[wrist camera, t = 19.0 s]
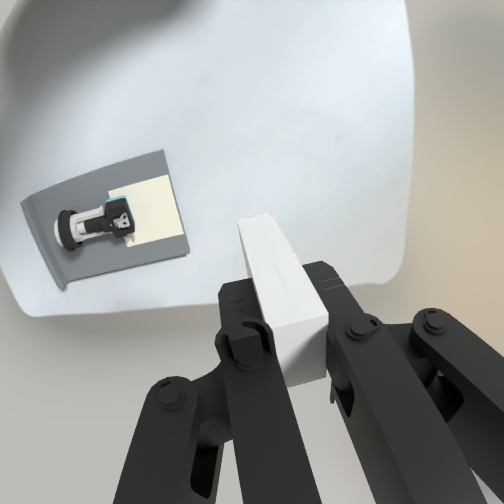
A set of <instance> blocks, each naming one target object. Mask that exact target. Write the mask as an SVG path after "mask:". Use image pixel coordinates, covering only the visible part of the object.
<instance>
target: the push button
mask: <svg viewBox="0 0 504 504" xmlns="http://www.w3.org/2000/svg"><path fill="white" fill-rule="evenodd" d="M54 232H55V237H56V239H57V242H58V243H59V245H60V246H63V247H64V248H65V249H66V250H67V251H69V252H72V251H74V250H75V249H76V248H79V247H81V246H82V244H83V241H84V240H85V239H88V238H92V237H95V236H99V235H103V234H107V233H110V234H111V233H113V234H114V236H115V238H117V239H118V238H122V237H126V238H127V241H128V242H129V237H128V235H127V234H130V233H132V235H133V238H134V240H135V235H134V232H135V221H134V218H133V215H132V212H131V209H130V206H129V203H128V200H127V197H126V196H125V195H122V196H119V197H115V198H111V199H107V200H106V203H105V208H104V207H103V206H100V208H97V209H93V210H90V211H86V212H83V213H79V214H77V212H76V211H74V210H68V211H67V210H62V211H61V212H60V213H59V215H58V219H57V220H56V221H55V224H54Z"/></svg>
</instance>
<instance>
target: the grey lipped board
mask: <svg viewBox="0 0 504 504" xmlns="http://www.w3.org/2000/svg"><path fill="white" fill-rule="evenodd" d="M122 195H125V196H126V197H127V200H128V203H129V206H130V209H131V212H132V215H133V218H134V221H135V232H134V235H135V240H134V238H133V235H132V233H130V234H127V235H128V237H129V242H128V241H127V238H126V237H122V238H118V239H117V238H115V236H114V234H113V233H111V234H110V233H107V234H103V235H99V236H95V237H92V238H88V239H85V240H84V241H83V244H82V246H81V247H79V248H76V249H75V250H74V251H72V252H69V251H67V250H66V249H65V248H64V247H63V246H60V245H59V243H58V242H57V239H56V237H55V232H54V224H55V221H56V220H57V219H58V215H59V213H60V212H61V211H62V210H67V211H68V210H74V211H76V212H77V214H79V213H83V212H86V211H90V210H93V209H97V208H100V206H103V207H104V208H105V203H106V200H107V199H111V198H115V197H119V196H122ZM21 206H22V209H23V211H24V214H25V217H26V219H27V222H28V224H29V227H30V229H31V231H32V234H33V236H34V238H35V241H36V243H37V245H38V247H39V250H40V252H41V254H42V256H43V258H44V260H45V262H46V264H47V267H48V269H49V271H50V273H51V274H52V276H53V278H54V280H55V282H56V284H57V286H58V288H63V287H64V286H65V284H66V283H67V281H70V280H75V279H79V278H83V277H88V276H92V275H96V274H100V273H105V272H109V271H113V270H118V269H122V268H127V267H131V266H135V265H140V264H144V263H149V262H153V261H157V260H162V259H166V258H171V257H175V256H180V255H184V254H189V253H190V247H189V244H188V240H187V237H186V234H185V230H184V226H183V223H182V219H181V216H180V212H179V208H178V205H177V201H176V197H175V193H174V190H173V186H172V182H171V178H170V174H169V170H168V166H167V162H166V158H165V154H164V149H163V150H159V151H156V152H152V153H148V154H145V155H141V156H138V157H134V158H131V159H128V160H125V161H121V162H118V163H115V164H112V165H109V166H106V167H103V168H100V169H97V170H94V171H91V172H88V173H86V174H83V175H80V176H77V177H75V178H72V179H69V180H67V181H64V182H62V183H59V184H57V185H54V186H52V187H49V188H47V189H44V190H42V191H40V192H37V193H35V194H33V195H30V196H29V197H27V198H26V199H25V200H23V201H22V202H21Z"/></svg>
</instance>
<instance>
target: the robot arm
mask: <svg viewBox="0 0 504 504" xmlns="http://www.w3.org/2000/svg"><path fill="white" fill-rule="evenodd" d="M237 224H238V229H239V234H240V239H241V244H242V249H243V254H244V259H245V264H246V269H247V274H248V279H243V280H239V281H234V282H230V283H225V284H223V285H222V287H221V289H220V291H219V293H218V299H219V306H220V307H219V308H220V318H221V327H222V328H221V329H220V330H219V332H218V333H217V335H216V338H215V346H216V349H217V352H218V354H219V357H220V360H221V362H220V364H219V365H218V366H217V367H216V368H215V369H214V370H213V371H211V372H210V373H208V374H206V375H204V376H203V377H200V378H198V379H196V380H193V381H190V380H188V379H187V378H184V377H179V376H174V377H167V378H165V379H162V380H160V381H158V382H157V383H156V384H155V385H153V386H152V387H151V389H150V391H149V392H148V394H147V397H146V400H145V402H144V405H143V408H142V411H141V414H140V417H139V420H138V423H137V426H136V429H135V432H134V435H133V438H132V441H131V444H130V447H129V451H128V454H127V457H126V460H125V464H124V467H123V470H122V474H121V477H120V480H119V484H118V487H117V491H116V494H115V498H114V501H113V504H215V502H216V495H217V489H218V482H219V475H220V468H221V462H222V455H223V448H224V443H225V442H227V441H229V440H232V439H233V444H234V451H235V457H236V463H237V469H238V475H239V481H240V487H241V492H242V498H243V504H322V502H321V499H320V496H319V492H318V489H317V486H316V483H315V479H314V476H313V473H312V470H311V466H310V463H309V460H308V456H307V453H306V450H305V447H304V443H303V440H302V437H301V434H300V430H299V427H298V424H297V420H296V417H295V414H294V410H293V407H292V404H291V401H290V397H289V394H288V390H287V388H288V387H292V386H296V385H300V384H303V383H307V382H310V381H314V380H317V379H321V378H324V377H326V370H328V372H329V374H330V376H331V379H332V381H331V392H330V402H331V404H332V403H334V400H336V403H337V405H338V408H339V410H340V413H341V415H342V417H343V420H344V423H345V425H346V428H347V430H348V432H349V435H350V438H351V440H352V443H353V445H354V448H355V450H356V453H357V455H358V458H359V460H360V463H361V465H362V468H363V471H364V473H365V476H366V479H367V481H368V484H369V486H370V489H371V492H372V494H373V497H374V500H375V502H376V504H487V502H486V500H485V497H484V495H483V493H482V491H481V489H480V487H479V485H478V483H477V481H476V478H475V476H474V474H473V473H472V470H473V471H474V472H475V473H476V474H477V475H478V476H479V477H480V478H481V479H482V481H483V482H484V483H485V484H486V485H487V486H488V487H489V488H490V489H491V490H492V491H493V492H494V493H495V495H496V496H497V497H498V498H499V499H500V500H501V501H502V502H503V503H504V357H503V356H501V355H500V354H499V353H498V352H497V351H495V350H494V349H493V348H492V347H491V346H489V345H488V344H487V343H486V342H484V341H483V340H482V339H481V338H480V337H478V336H477V335H476V334H475V333H473V332H472V331H471V330H469V329H468V328H467V327H466V326H464V325H463V324H462V323H460V322H459V321H458V320H457V319H455V318H454V317H453V316H451V315H450V314H449V313H447V312H445V311H443V310H441V309H436V308H426V309H423V310H421V311H419V312H418V313H417V314H416V315H415V316H414V319H413V322H412V323H406V324H383V323H382V322H381V321H380V320H379V319H378V318H377V317H375V316H373V315H370V314H366V313H364V312H363V310H362V309H361V307H360V306H359V304H358V303H357V301H356V300H355V298H354V297H353V295H352V294H351V293H350V291H349V290H348V288H347V287H346V285H344V282H343V281H342V280H341V278H339V275H338V274H337V272H336V271H335V270H334V268H333V267H332V266H330V265H328V264H327V263H325V262H323V261H318V262H314V263H310V264H305V265H301V263H300V261H299V260H298V258H297V256H296V254H295V253H294V251H293V249H292V247H291V246H290V244H289V242H288V240H287V239H286V237H285V235H284V233H283V232H282V230H281V228H280V227H279V225H278V223H277V221H276V220H275V218H274V216H273V215H272V213H266V214H261V215H256V216H251V217H246V218H241V219H237ZM471 468H472V470H471Z"/></svg>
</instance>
